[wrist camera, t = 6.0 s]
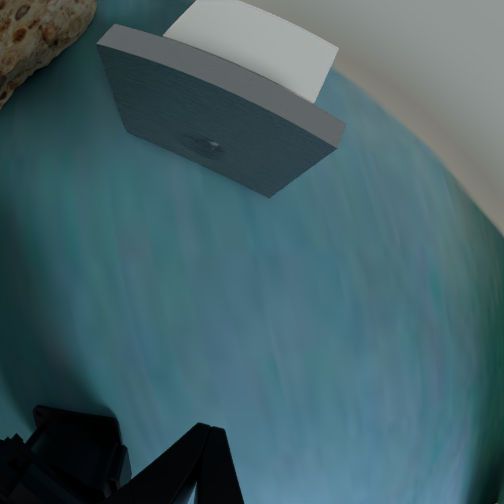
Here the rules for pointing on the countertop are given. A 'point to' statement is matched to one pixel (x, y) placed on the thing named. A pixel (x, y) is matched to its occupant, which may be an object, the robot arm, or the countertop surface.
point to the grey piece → (215, 111)
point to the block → (257, 44)
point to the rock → (37, 36)
